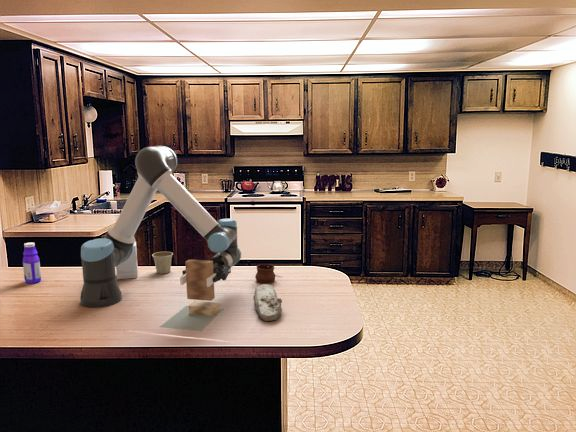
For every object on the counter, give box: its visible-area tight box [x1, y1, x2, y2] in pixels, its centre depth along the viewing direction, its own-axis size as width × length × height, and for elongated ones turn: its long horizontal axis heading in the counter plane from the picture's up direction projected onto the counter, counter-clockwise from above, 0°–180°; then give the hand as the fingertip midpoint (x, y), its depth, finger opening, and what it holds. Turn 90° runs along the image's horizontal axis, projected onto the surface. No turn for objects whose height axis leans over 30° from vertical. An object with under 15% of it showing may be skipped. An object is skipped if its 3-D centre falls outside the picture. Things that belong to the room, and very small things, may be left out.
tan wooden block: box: [188, 300, 222, 317], centre depth 173 cm, size 10×5×3 cm, turn 76°
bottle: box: [22, 242, 42, 284], centre depth 210 cm, size 7×6×17 cm
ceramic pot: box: [255, 263, 282, 285], centre depth 210 cm, size 18×18×7 cm
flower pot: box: [151, 251, 174, 275], centre depth 224 cm, size 9×9×9 cm
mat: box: [159, 305, 224, 332], centre depth 169 cm, size 15×20×1 cm
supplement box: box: [115, 241, 139, 280], centre depth 218 cm, size 9×9×15 cm
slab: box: [184, 258, 215, 302], centre depth 168 cm, size 9×3×14 cm, turn 76°
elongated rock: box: [253, 283, 283, 322], centre depth 182 cm, size 35×5×10 cm
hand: (194, 282), depth 163 cm, fingers closed on slab, 9 cm apart
